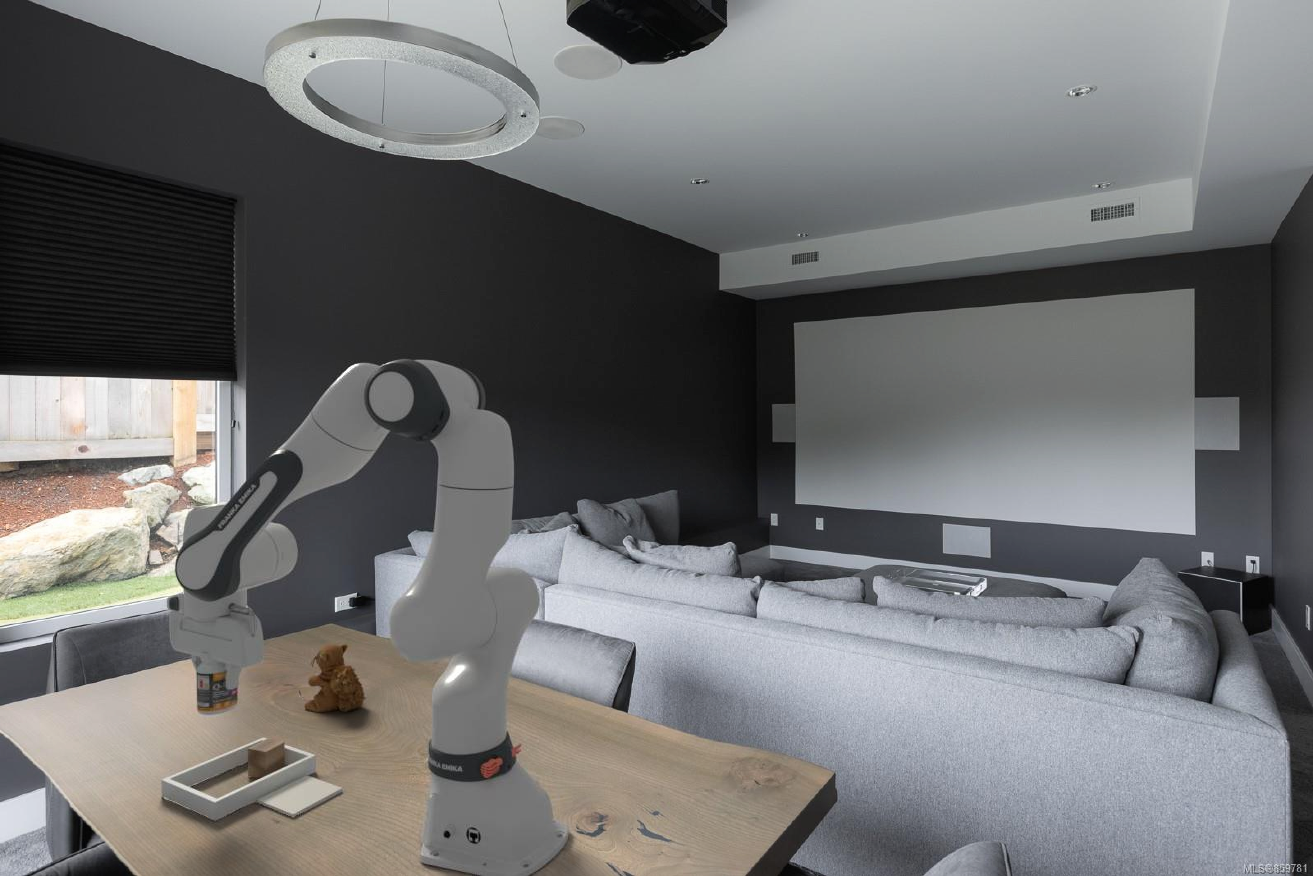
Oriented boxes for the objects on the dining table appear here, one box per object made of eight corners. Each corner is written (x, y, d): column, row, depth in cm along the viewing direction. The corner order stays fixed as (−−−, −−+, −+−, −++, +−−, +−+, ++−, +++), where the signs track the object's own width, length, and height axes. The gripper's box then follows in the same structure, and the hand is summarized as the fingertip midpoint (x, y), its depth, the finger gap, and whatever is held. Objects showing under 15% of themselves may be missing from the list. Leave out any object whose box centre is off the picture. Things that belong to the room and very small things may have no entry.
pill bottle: (218, 718, 114) (218, 656, 114) (188, 714, 116) (187, 654, 115) (245, 704, 120) (245, 645, 120) (216, 701, 121) (215, 643, 121)
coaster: (342, 791, 120) (342, 788, 120) (293, 818, 112) (293, 814, 112) (306, 778, 124) (306, 775, 124) (257, 803, 116) (256, 799, 116)
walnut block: (284, 769, 127) (284, 742, 127) (266, 780, 123) (266, 752, 123) (266, 766, 128) (266, 738, 128) (248, 777, 125) (247, 748, 124)
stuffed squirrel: (341, 692, 163) (340, 635, 162) (379, 706, 155) (379, 646, 154) (298, 707, 154) (298, 646, 154) (337, 723, 147) (336, 659, 146)
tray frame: (315, 771, 126) (315, 755, 126) (215, 821, 111) (215, 802, 111) (263, 753, 133) (263, 737, 133) (161, 797, 117) (161, 779, 117)
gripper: (274, 603, 115) (275, 688, 116) (199, 590, 125) (200, 668, 125) (235, 613, 110) (237, 702, 110) (160, 598, 119) (162, 680, 120)
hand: (217, 684), depth 118 cm, fingers closed on pill bottle, 6 cm apart
